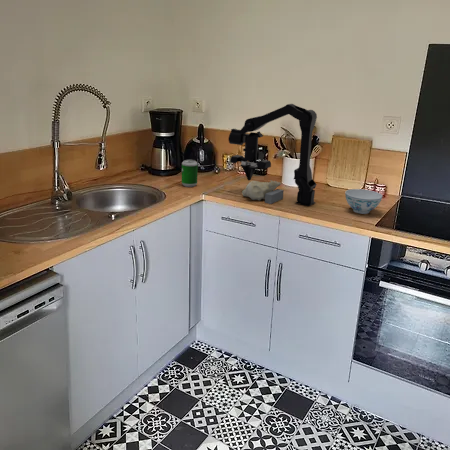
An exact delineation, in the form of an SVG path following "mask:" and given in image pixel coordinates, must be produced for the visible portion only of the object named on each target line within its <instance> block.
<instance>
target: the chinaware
mask: <svg viewBox="0 0 450 450" xmlns="http://www.w3.org/2000/svg"><path fill="white" fill-rule="evenodd" d="M344 194H345V201H346V202H347V205H349V207H351V208H352V212H354V213H356V214H363V215H367V214H369V213H370V212H371V211H372V210H375V208H377V207H378V206H379V204H380V203H381V201H382V199H383V194H382V193H380V192H377V191H373V190H370V189H362V188H350V189H347V190H346V191H344Z"/></svg>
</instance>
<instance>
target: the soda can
mask: <svg viewBox="0 0 450 450" xmlns="http://www.w3.org/2000/svg"><path fill="white" fill-rule="evenodd" d="M198 166H199V165H198V162H197V161H196V160H195V159H184V160H183V161H182V162H181V184H182V185H183V186H184V187H186V188H193V187H196V186H197V185H198V170H199V169H198Z"/></svg>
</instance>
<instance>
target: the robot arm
mask: <svg viewBox="0 0 450 450" xmlns="http://www.w3.org/2000/svg"><path fill="white" fill-rule="evenodd" d="M288 115H290V116H291V117H292V118H294V119H296V120H298V122H299V125H298V126H299V128H300V131H301V134H300V135H301V137H300V148H299V149H300V150H299V162H298V163H299V165H298V168H295V169H294V171H293V172H294V176H293V180H294V183H295V185H296V186H297V189H298V192H297V196H296V201H295V204H299V205H303V206H307V207H310V206H312V205H314V204H316V202H315V193H316V190H314V189H316V187H317V184H318V183H316V182H315V180H314V179H313V174H312V169H311V164H310V163H311V153H312V138H313V131H314V128H315V127H316V124H317V123H316V121H317V118H318V117H317V112H316V111H315V110H313V109H307V108H303V107H301V106H298V105H296V104H295V103H288V104H286V105H284V106H282V107H279V108H277V109H275V110H273V111H271V112H268V113H266V114H263V115H259V116H256V117H255V116H254V117H250V118H247V119H246V120H245V121H244V124H243V126H242V128H240V129H236V128H231V129H230V133H229V134H228V143H229V144H230V145H237V146H243V145H244V148H243V149H242V151H243V152H244V155H239V154H236V155H232V156H231V157H230V159H229V163H232V164H237V162H240V163H241V164H240V167H241V168H242V170H243V172H244V174H245V177H246V179H247V181H251V180H252V178H253V175H254V173H255V171H256V169H257V168H258V169H262V170H266V169H269V168H271V167H272V163H271V160H268V159H264V157H265V153H263V152H261V151H260V148H259V146H258V145H259V138H263V137H264V135H263V133H261V131H259V130H260V129H261V128H263V127H264V126H266V125H267V124H268V123H271V122H273V121H276V120H278V119H281V118H283V117H285V116H288Z"/></svg>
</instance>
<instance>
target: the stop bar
mask: <svg viewBox="0 0 450 450" xmlns="http://www.w3.org/2000/svg"><path fill="white" fill-rule="evenodd" d="M283 199H284V189H280V188H276V189H275V190H273V191H271V192H269V193H266V194H265V199H264V203H265V204H269V205H272V204H275V203H276V202H278V201H281V200H283Z"/></svg>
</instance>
